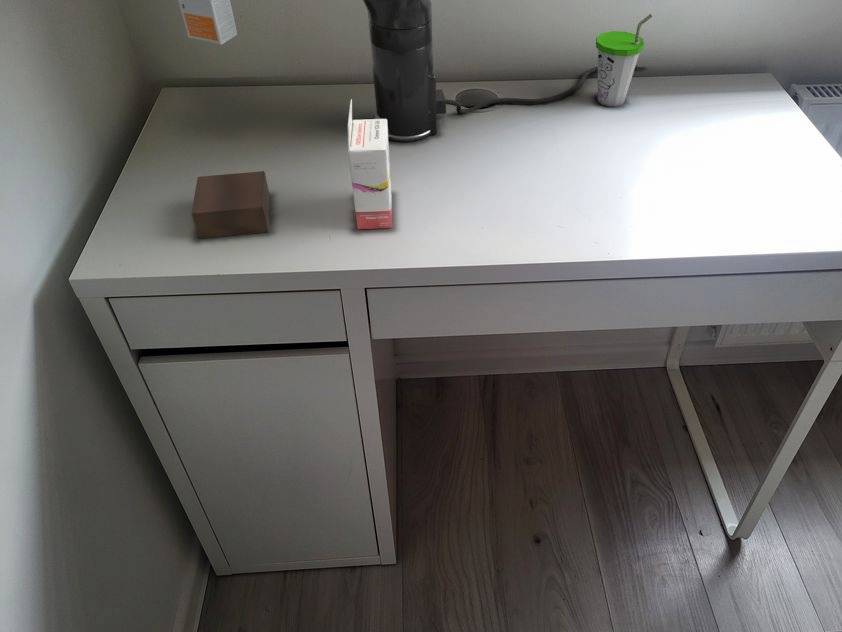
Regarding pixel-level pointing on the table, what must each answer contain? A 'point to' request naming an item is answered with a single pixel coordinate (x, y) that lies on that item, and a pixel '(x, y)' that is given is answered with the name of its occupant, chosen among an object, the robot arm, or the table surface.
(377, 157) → the ink cartridge box
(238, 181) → the block
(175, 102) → the table surface
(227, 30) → the cosmetic box
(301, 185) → the table surface
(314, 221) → the table surface
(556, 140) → the table surface
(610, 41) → the cup
